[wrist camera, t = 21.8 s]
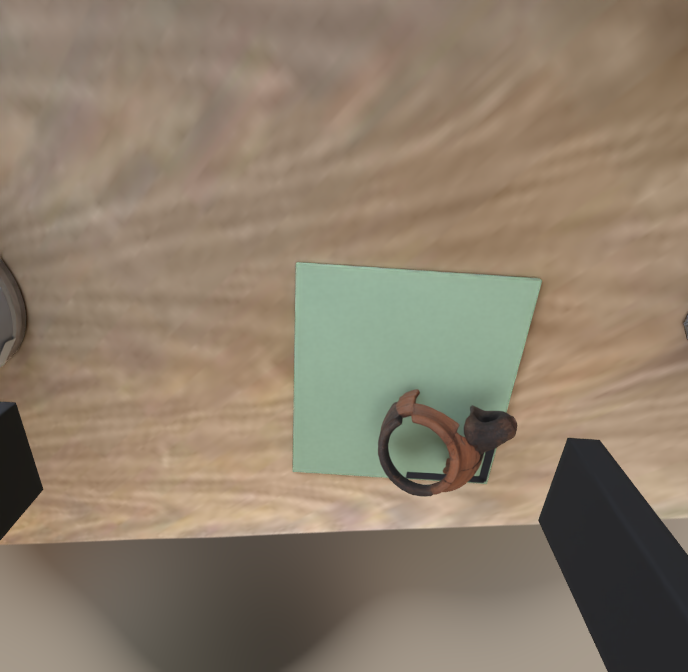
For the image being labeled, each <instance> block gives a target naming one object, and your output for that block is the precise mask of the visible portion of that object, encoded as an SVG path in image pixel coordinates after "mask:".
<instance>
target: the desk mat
mask: <svg viewBox="0 0 688 672" xmlns="http://www.w3.org/2000/svg"><path fill="white" fill-rule="evenodd" d="M541 283H542V280H541V279H540V278H527V277H512V276H497V275H482V274H467V273H452V272H437V271H422V270H407V269H392V268H377V267H362V266H347V265H332V264H317V263H302V262H297V263H296V289H295V356H294V422H293V472H306V473H322V474H338V475H354V476H369V477H385V478H388V476H387V475H386V474H385V472H384V470H383V468H382V466H381V464H380V460H379V456H378V440H379V436H380V431H381V426H382V423H383V420H384V418H385V416H386V414H387V412H388V411H389V409H390V407H391V406H392V404H393V403H395V402H398V400H399V398H400V397H401V396H403V394H404V393H406V392H409V391H411V390H415V389H418V390H419V392H420V394H419V395H418V397H417V399H416V403H418V404H423V405H426V406H429V407H431V408H433V409H435V410H437V411H439V412H442V413H444V414H445V415H447V416H448V417H450V418H451V419H453V420H454V421H456V422H457V423H458V424H459V425H460V426H459V428H458V430H457V433H459V434H460V435H461V436H463V437H465V435H464V424H465V420H466V418H467V417H468V416H470V407H471V406H472V405H474V406H475V407H478V408H479V409H482V410H484V411H504V412H507V408H508V404H509V401H510V397H511V393H512V390H513V386H514V382H515V378H516V375H517V371H518V367H519V364H520V360H521V356H522V353H523V349H524V345H525V342H526V338H527V334H528V331H529V327H530V323H531V320H532V316H533V312H534V309H535V305H536V301H537V298H538V294H539V290H540V287H541ZM388 450H389V455H390V458H391V461H392V463H393V464H394V466H395V467H396V469H397V470H398V471H399V472H400V473H401V474H402V475H403V476H404V477H405V478H407V479H417V480H433V481H441V480H442V479H443V478H444V477H445V476H446V475H447V474H444V473H443V469H444V468H445V467H446V461H447V459H448V458H449V452H448V449H447V446H446V444H445V443H444V442H443V441H442V439H441V438H440V437H439V436H438V435H437V434H436V433H435V432H434V431H432V430H431V429H430V428H428V427H426V426H423V425H420V424H416V423H413V422H412V418H411V416H409V417H406V418H403V422H402V424H401V425H400V426H399V427H397V428H396V429H395V430H394V431H393V432H392V434H391V436H390V439H389V443H388ZM495 452H496V448H495V449H492V450H489V451H487V452H485V453H484V456H483V460H482V462H481V465H480V467H479V469H478V470H477V471H476V474H475V475H474V476H473V477H472V478H471V479H470V480H469V481H468V482H467V483H481V484H487V482H488V478H489V474H490V470H491V467H492V463H493V459H494V456H495Z"/></svg>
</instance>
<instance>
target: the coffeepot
mask: <svg viewBox="0 0 688 672" xmlns="http://www.w3.org/2000/svg"><path fill="white" fill-rule="evenodd" d="M684 327H685V332H686V337H687V339H688V315H687V318H686V321H685V322H684Z"/></svg>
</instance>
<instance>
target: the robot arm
mask: <svg viewBox="0 0 688 672" xmlns="http://www.w3.org/2000/svg"><path fill="white" fill-rule="evenodd" d="M25 330H26V311H25V306H24V301H23V298H22V295H21V292H20V290H19V288H18V285H17V283H16V281H15V279H14V278H13V276H12V274H11V273H10V271H9V269H8V268H7V267H6V265H5V264H4V263H3V261H2V260H1V259H0V367H2V366H4V364H5V362H6V361H7V360H9V359H10V358H11V357H12V356H13V355H14V354H15V353H16V351H17V350H18V349H19V347H20V345H21V343H22V341H23V338H24V334H25ZM42 490H43V487H42V484H41V480H40V477H39V474H38V471H37V468H36V465H35V462H34V458H33V455H32V452H31V449H30V446H29V443H28V439H27V436H26V433H25V430H24V427H23V424H22V420H21V417H20V414H19V411H18V408H17V405H16V403H14V402H0V540H1V539H2V538H3V537H4V536H5V534H6V533H7V532H8V531H9V530H10V528H11V527H12V526H13V525H14V524H15V523H16V521H17V520H18V519H19V518H20V517H21V515H22V514H23V513H24V512H25V511H26V509H27V508H28V507H29V506H30V505H31V504H32V502H33V501H34V500H35V499H36V498H37V496H38V495H39V494H40V493H41V492H42ZM538 521H539V523H540V525H541V527H542V530H543V532H544V534H545V536H546V538H547V540H548V543H549V545H550V547H551V549H552V551H553V553H554V556H555V558H556V560H557V562H558V564H559V567H560V568H561V571H562V573H563V575H564V577H565V580H566V582H567V584H568V586H569V588H570V591H571V593H572V595H573V597H574V599H575V601H576V603H577V606H578V608H579V610H580V612H581V614H582V617H583V619H584V621H585V623H586V625H587V628H588V630H589V632H590V634H591V636H592V638H593V641H594V643H595V645H596V647H597V649H598V651H599V654H600V656H601V658H602V660H603V662H604V665H605V667H606V669H607V671H608V672H688V555H687V553H686V552H685V551H684V550H683V548H682V547H681V546H680V544H679V543H678V542H677V540H676V539H675V538H674V536H673V535H672V534H671V533H670V531H669V530H668V529H667V527H666V526H665V525H664V523H663V522H662V521H661V519H660V518H659V517H658V516H657V514H656V513H655V512H654V510H653V509H652V508H651V506H650V505H649V504H648V503H647V501H646V500H645V499H644V497H643V496H642V495H641V493H640V492H639V491H638V489H637V488H636V487H635V486H634V484H633V483H632V482H631V480H630V479H629V478H628V476H627V475H626V474H625V472H624V471H623V470H622V469H621V467H620V466H619V465H618V463H617V462H616V461H615V459H614V458H613V457H612V456H611V454H610V453H609V452H608V450H607V449H606V448H605V446H604V445H603V444H602V442H601V441H600V440H593V439H577V438H567V441H566V444H565V447H564V450H563V452H562V455H561V458H560V461H559V464H558V466H557V469H556V472H555V475H554V478H553V480H552V483H551V486H550V489H549V492H548V494H547V497H546V500H545V503H544V506H543V509H542V511H541V514H540V517H539V520H538Z"/></svg>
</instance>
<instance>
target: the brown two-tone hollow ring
mask: <svg viewBox="0 0 688 672" xmlns="http://www.w3.org/2000/svg"><path fill="white" fill-rule="evenodd" d="M419 394H420V392H419V390H418V389H415V390H411V391H409V392H406V393H404V394H403V396H401V397H400V398H399V400H398V402H395V403H393V404H392V406H391V407H390V409H389V411H388V412H387V414H386V416H385V418H384V420H383V423H382V426H381V431H380V436H379V440H378V456H379V460H380V464H381V466H382V468H383V470H384V472H385V474H386V475H387V476H388V478H389V479H390V480H391V481H392V482H393V483H394V484H395V485H396V486H398V487H399V488H400V489H402V490H404V491H405V492H407V493H409V494H412V495H417V496H432V495H433V494H439V493H441V492H448V491H453V490H455V489H458V488H460V487H462V486H463V485H464V484H466V483H467V482H468V481H469V480H470V479H471V478H472V477H473V476H474V475H475V474H476V471H477V470H478V469H479V467H480V465H481V462H482V460H483V456H484V453H485V452H487V451H489V450H492V449H495V448H497V447H498V446H500V445H501V444H503V443H505V442H506V441H508V440H510V439H512V438H513V437H514V436H515V434H516V430H517V422H516V420H515V418H514V417H513V416H510V415H509V414H508V413H506V412H504V411H484V410H482V409H479V408H478V407H475V406H474V405H472V406H471V407H470V416H468V417H467V418H466V420H465V424H464V435H465V437H463V436H461V435H460V434H459V433H457V430H458V428H459V426H460V425H459V424H458V423H457V422H456V421H454V420H453V419H451V418H450V417H448V416H447V415H445V414H444V413H442V412H439V411H437V410H435V409H433V408H431V407H429V406H426V405H423V404H418V403H416V399H417V397H418V395H419ZM409 416H411V418H412V422H413V423H416V424H420V425H423V426H426V427H428V428H430V429H431V430H432V431H434V432H435V433H436V434H437V435H438V436H439V437H440V438H441V439H442V441H443V442H444V443H445V444H446V446H447V449H448V452H449V458H448V459H447V461H446V467H445V468H444V469H443V473H444V474H447V475H446V476H445V477H444V478H443V479H442V480H441V481H439V482H437V483H434V484H431V485H422V484H418V483H415V482H412V481H410V480H408V479H407V478H405V477H404V476H403V475H402V474H401V473H400V472H399V471H398V470H397V469H396V467H395V466H394V464H393V463H392V461H391V458H390V455H389V450H388V443H389V439H390V436H391V434H392V432H393V431H394V430H395V429H396V428H397V427H399V426H400V425H401V424H402V422H403V418H406V417H409Z"/></svg>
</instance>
